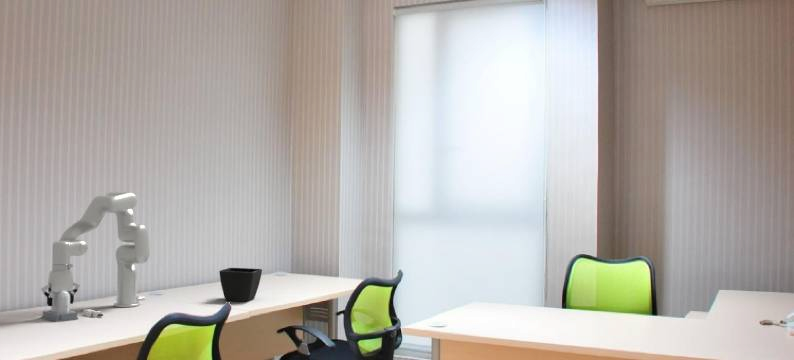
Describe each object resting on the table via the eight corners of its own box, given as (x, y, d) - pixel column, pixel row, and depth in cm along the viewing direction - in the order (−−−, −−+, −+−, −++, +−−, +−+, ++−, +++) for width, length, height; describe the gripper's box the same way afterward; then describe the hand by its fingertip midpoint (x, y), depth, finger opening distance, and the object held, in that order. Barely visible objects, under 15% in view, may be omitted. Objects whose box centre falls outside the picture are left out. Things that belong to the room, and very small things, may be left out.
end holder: (62, 315, 344) (62, 308, 344) (78, 319, 334) (78, 312, 335) (41, 317, 336) (41, 311, 336) (56, 322, 327) (56, 314, 327)
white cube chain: (90, 313, 349) (90, 308, 349) (103, 317, 341) (103, 312, 341) (82, 314, 346) (82, 309, 346) (95, 318, 338) (95, 313, 338)
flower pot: (262, 298, 410) (262, 268, 410) (252, 303, 391) (252, 271, 391) (229, 297, 412) (230, 267, 412) (218, 302, 393) (218, 270, 393)
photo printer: (71, 317, 335) (71, 290, 335) (62, 318, 331) (63, 291, 331) (58, 314, 340) (58, 288, 341) (49, 316, 337) (50, 289, 337)
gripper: (75, 265, 345) (74, 301, 345) (38, 268, 332) (37, 306, 331) (83, 267, 340) (82, 303, 340) (46, 270, 327) (45, 307, 327)
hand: (60, 304), depth 336 cm, fingers open, 9 cm apart
